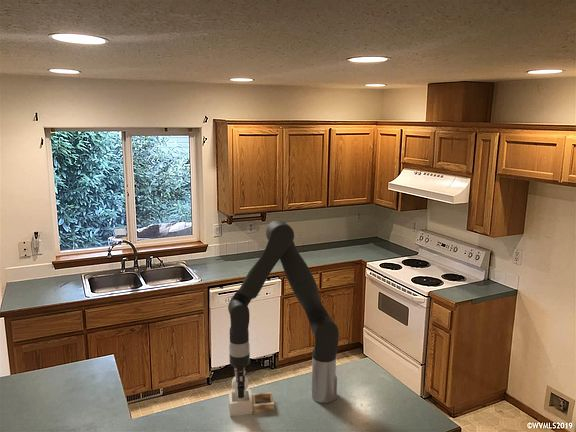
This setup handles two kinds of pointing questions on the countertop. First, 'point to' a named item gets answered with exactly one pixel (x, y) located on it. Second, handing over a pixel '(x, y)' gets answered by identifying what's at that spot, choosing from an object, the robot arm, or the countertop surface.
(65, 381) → the countertop surface
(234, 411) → the cream open cubby box
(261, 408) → the wooden frame
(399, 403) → the countertop surface
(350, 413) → the countertop surface
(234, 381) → the lightbulb
